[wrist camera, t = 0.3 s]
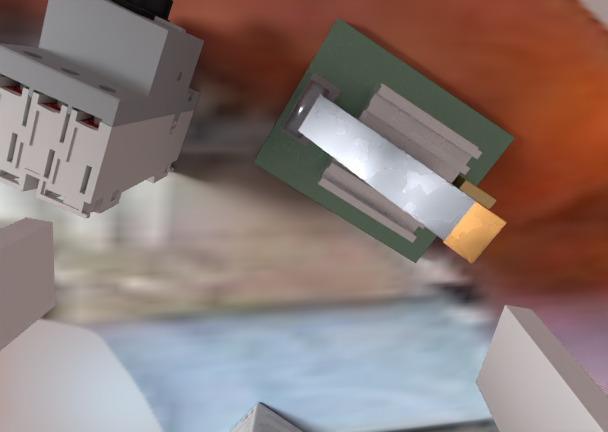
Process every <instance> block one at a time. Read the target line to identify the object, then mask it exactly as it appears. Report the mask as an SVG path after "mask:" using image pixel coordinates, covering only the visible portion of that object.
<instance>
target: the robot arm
mask: <svg viewBox="0 0 608 432" xmlns="http://www.w3.org/2000/svg"><path fill="white" fill-rule="evenodd" d="M54 306H55V285H54V252H53V222H48V221H43V220H37V219H32V218H24V219H22V220H20V221H17V222H15V223H13V224H11V225H9V226H6V227H4V228H2V229H0V351H1V350H2V349H3V348H4V347H5V346H7V345H8V344H9V343H10V342H11V341H13V340H14V339H15V338H16V337H18V336H19V335H20V334H21V333H22V332H24V331H25V330H26V329H27V328H28V327H30V326H31V325H32V324H33V323H35V322H36V321H37V320H38V319H39V318H41V317H42V316H43V315H44V314H45V313H47V312H48V311H49V310H50V309H51V308H53V307H54ZM476 384H477V386H478V388H479V390H480V392H481V394H482V396H483V398H484V400H485V402H486V404H487V406H488V408H489V411H490V413H491V415H492V417H493V419H494V421H495V423H496V425H497V427H498V429H499V431H500V432H608V396H607V395H606V394H605V393H604V392H603V391H602V389H601V388H600V387H599V386H598V385H597V384H596V383H595V381H594V380H593V379H592V378H591V377H590V376H589V375H588V373H587V372H586V371H585V370H584V369H583V368H582V367H581V365H580V364H579V363H578V362H577V361H576V360H575V359H574V357H573V356H572V355H571V354H570V353H569V352H568V351H567V349H566V348H565V347H564V346H563V345H562V344H561V343H560V341H559V340H558V339H557V338H556V337H555V336H554V335H553V333H552V332H551V331H550V330H549V329H548V328H547V327H546V325H545V324H544V323H543V322H542V321H541V320H540V319H539V317H538V316H537V315H536V314H535V313H534V312H533V311H532V309H526V308H521V307H515V306H510V305H505V307H504V309H503V312H502V314H501V317H500V320H499V322H498V325H497V328H496V330H495V333H494V335H493V338H492V341H491V343H490V346H489V349H488V351H487V354H486V357H485V359H484V362H483V364H482V367H481V370H480V372H479V375H478V378H477V380H476Z"/></svg>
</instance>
